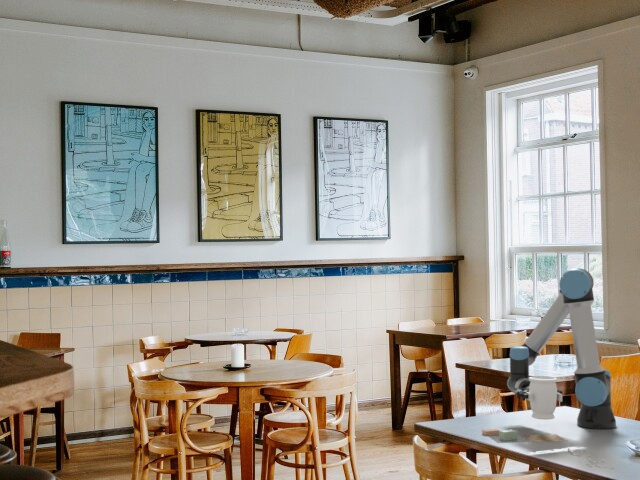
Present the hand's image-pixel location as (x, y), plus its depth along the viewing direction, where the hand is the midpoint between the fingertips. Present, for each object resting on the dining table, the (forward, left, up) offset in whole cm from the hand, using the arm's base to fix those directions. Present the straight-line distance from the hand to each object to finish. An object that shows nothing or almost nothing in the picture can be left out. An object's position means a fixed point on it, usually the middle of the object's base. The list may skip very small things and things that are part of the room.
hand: (546, 398), depth 303 cm
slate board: (+14, -4, -17) cm, 22 cm away
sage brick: (+14, -4, -15) cm, 21 cm away
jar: (0, -4, -8) cm, 9 cm away
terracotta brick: (+18, -13, -17) cm, 28 cm away
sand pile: (0, -4, -17) cm, 17 cm away
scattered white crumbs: (-5, +26, -17) cm, 32 cm away
